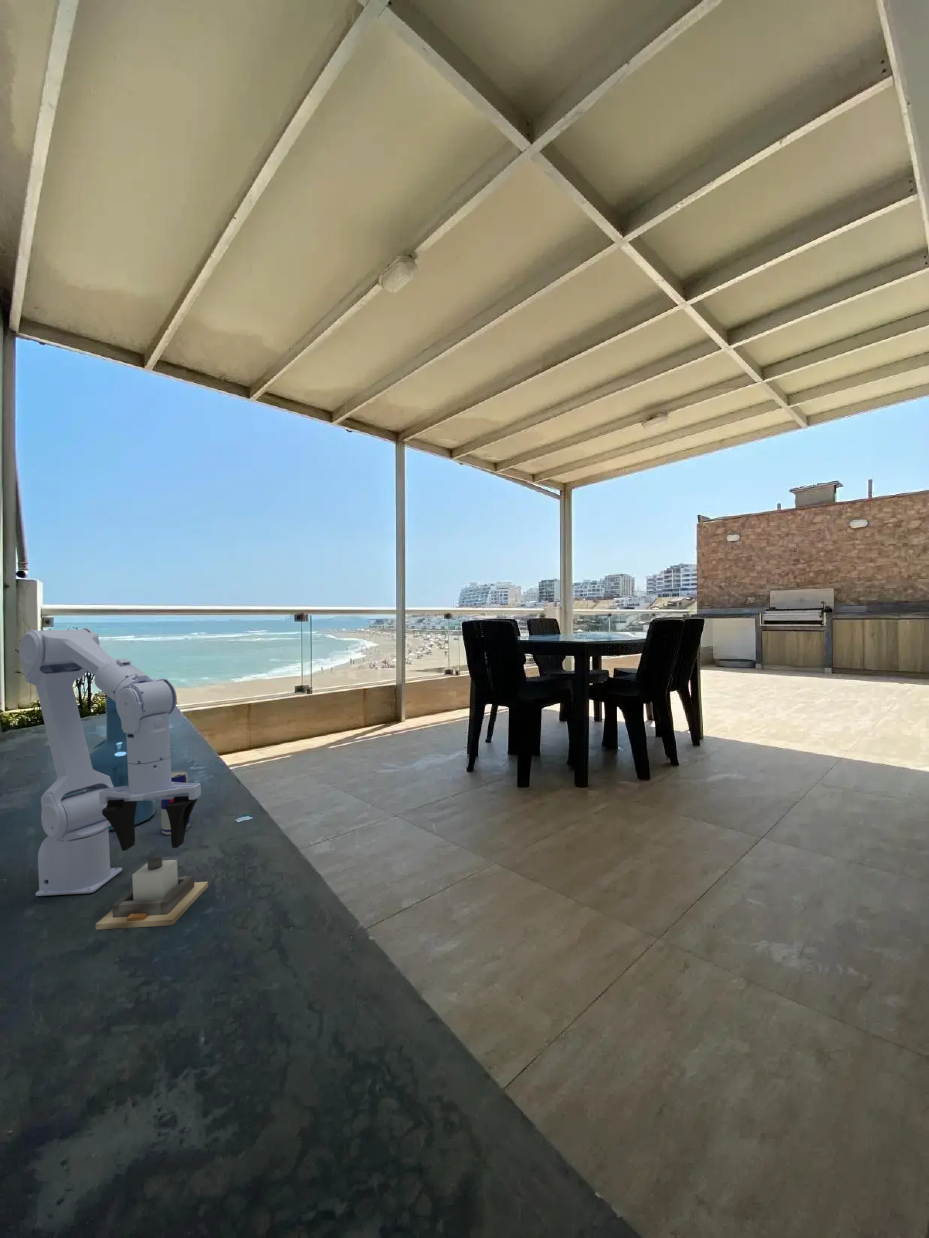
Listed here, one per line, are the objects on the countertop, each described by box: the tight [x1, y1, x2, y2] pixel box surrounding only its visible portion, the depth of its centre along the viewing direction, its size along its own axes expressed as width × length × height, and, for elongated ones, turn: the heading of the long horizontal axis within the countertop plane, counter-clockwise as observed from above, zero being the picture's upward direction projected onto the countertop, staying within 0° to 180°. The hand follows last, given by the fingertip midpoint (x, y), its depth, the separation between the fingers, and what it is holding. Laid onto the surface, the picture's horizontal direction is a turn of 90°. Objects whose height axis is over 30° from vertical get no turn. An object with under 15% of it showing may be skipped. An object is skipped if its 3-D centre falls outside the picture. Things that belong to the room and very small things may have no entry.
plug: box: [131, 854, 179, 901], centre depth 82 cm, size 4×4×6 cm
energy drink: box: [160, 770, 191, 836], centre depth 112 cm, size 5×5×12 cm
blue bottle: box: [83, 695, 156, 832], centre depth 119 cm, size 14×13×30 cm
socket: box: [95, 875, 209, 930], centre depth 81 cm, size 11×11×3 cm
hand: (153, 846), depth 81 cm, fingers open, 7 cm apart
